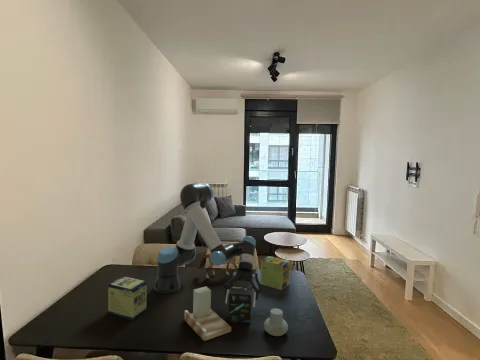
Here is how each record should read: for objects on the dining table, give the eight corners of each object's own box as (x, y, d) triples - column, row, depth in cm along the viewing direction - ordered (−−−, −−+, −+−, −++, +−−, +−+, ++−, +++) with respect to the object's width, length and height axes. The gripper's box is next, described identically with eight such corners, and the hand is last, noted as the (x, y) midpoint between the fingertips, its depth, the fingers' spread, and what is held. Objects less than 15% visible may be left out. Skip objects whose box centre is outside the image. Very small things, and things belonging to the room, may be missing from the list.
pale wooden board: (184, 319, 146) (184, 310, 146) (209, 311, 154) (210, 303, 154) (203, 341, 130) (203, 331, 129) (231, 331, 138) (231, 321, 137)
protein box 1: (133, 320, 144) (133, 289, 142) (107, 313, 149) (107, 283, 148) (147, 310, 153) (147, 280, 152) (122, 304, 159) (122, 275, 158)
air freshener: (285, 327, 142) (286, 307, 142) (289, 337, 134) (290, 316, 133) (262, 326, 142) (263, 306, 141) (264, 337, 134) (265, 316, 133)
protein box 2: (282, 290, 181) (283, 265, 180) (259, 284, 189) (260, 260, 188) (289, 284, 190) (290, 260, 189) (267, 278, 198) (268, 255, 197)
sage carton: (193, 313, 148) (193, 289, 147) (205, 309, 152) (206, 286, 151) (197, 317, 144) (198, 293, 143) (210, 313, 148) (211, 290, 147)
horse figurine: (242, 272, 207) (243, 243, 205) (244, 277, 199) (245, 246, 198) (196, 275, 200) (197, 244, 198) (197, 280, 193) (198, 248, 191)
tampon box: (251, 314, 153) (252, 286, 152) (250, 324, 144) (251, 294, 143) (230, 312, 154) (231, 284, 153) (227, 322, 145) (228, 292, 144)
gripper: (221, 258, 159) (213, 299, 146) (269, 263, 155) (265, 305, 141) (224, 265, 165) (216, 304, 151) (269, 269, 160) (265, 310, 147)
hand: (239, 305), depth 146 cm, fingers open, 13 cm apart
